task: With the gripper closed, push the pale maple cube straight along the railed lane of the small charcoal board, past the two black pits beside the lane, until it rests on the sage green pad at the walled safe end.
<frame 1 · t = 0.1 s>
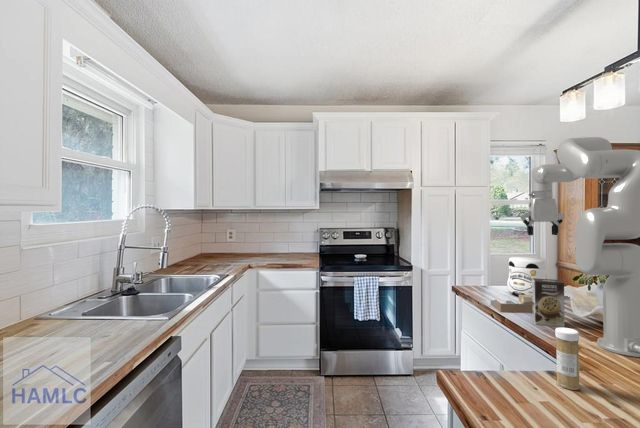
hand: (542, 235, 144), 31 cm above the countertop, tool pointing down, fingers open, 9 cm apart
cookie box: (548, 324, 123), on the countertop
sprinkles bottle: (567, 386, 80), on the countertop
trap board: (514, 308, 141), on the countertop
maple cube: (526, 305, 139), point 2 cm above the countertop, touching trap board
milk container: (527, 295, 163), on the countertop
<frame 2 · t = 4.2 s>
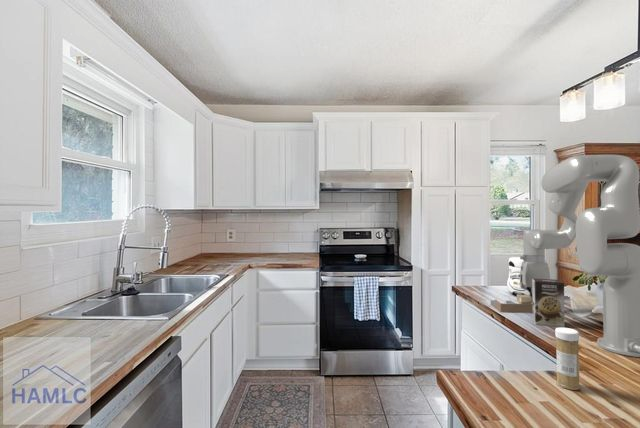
hand: (534, 302, 139), 3 cm above the countertop, tool pointing down, fingers closed
nothing on the countertop moved.
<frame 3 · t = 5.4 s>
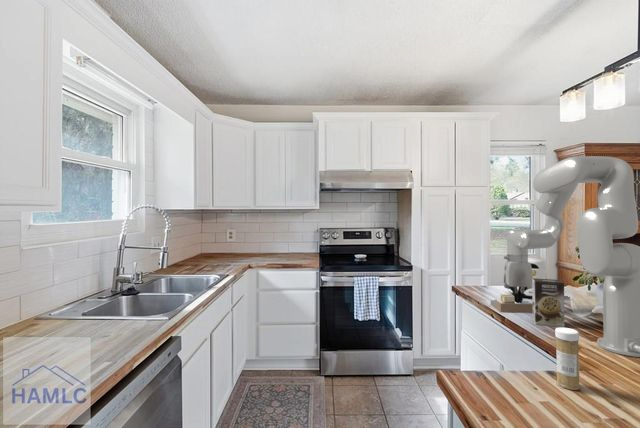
hand: (518, 302, 140), 3 cm above the countertop, tool pointing down, fingers closed
maple cube: (507, 304, 140), point 2 cm above the countertop, touching trap board
everything else where it was.
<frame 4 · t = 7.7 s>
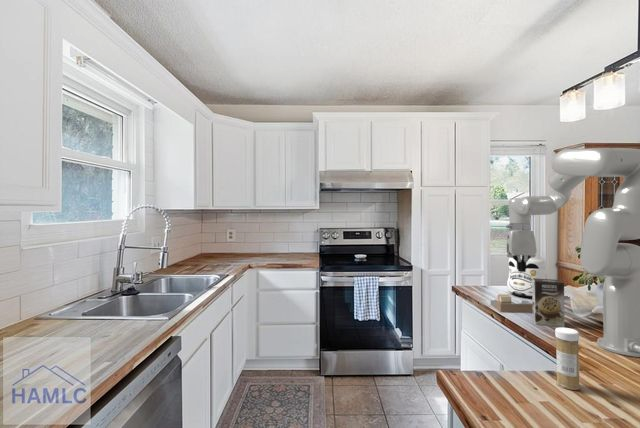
hand: (521, 271, 139), 16 cm above the countertop, tool pointing down, fingers closed
maple cube: (504, 304, 141), point 2 cm above the countertop, touching trap board
everything else where it was.
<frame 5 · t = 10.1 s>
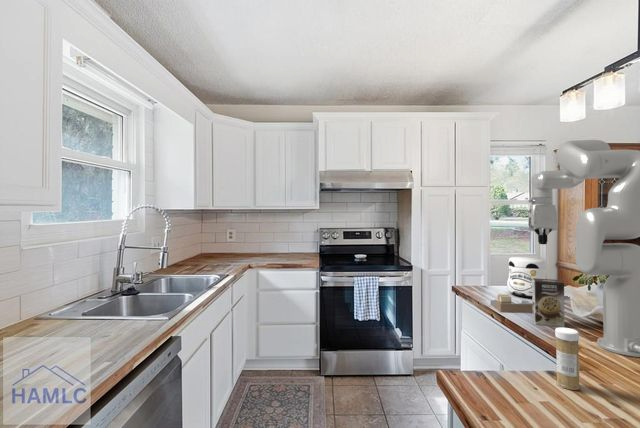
hand: (542, 244, 144), 27 cm above the countertop, tool pointing down, fingers closed
nothing on the countertop moved.
at the end: maple cube 0.4 cm from the target spot on the trap board, point 2.0 cm above the trap board's base; maple cube tilted 0° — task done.
